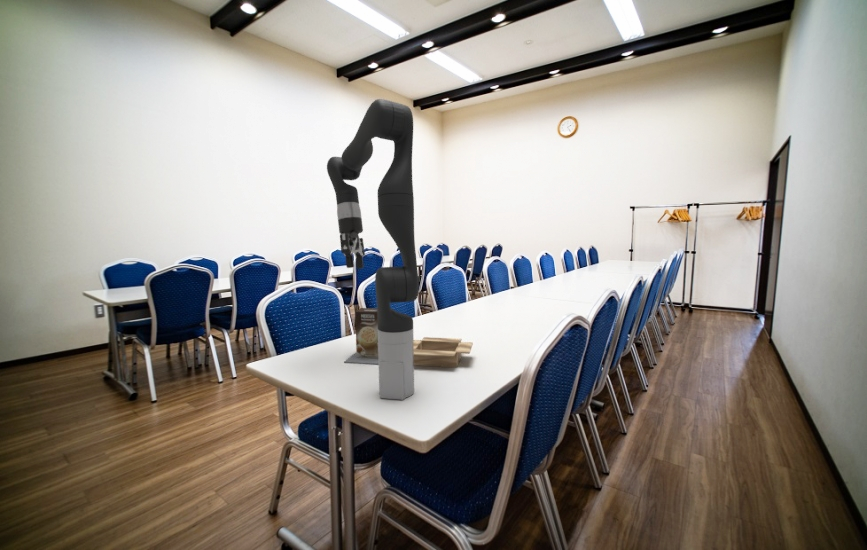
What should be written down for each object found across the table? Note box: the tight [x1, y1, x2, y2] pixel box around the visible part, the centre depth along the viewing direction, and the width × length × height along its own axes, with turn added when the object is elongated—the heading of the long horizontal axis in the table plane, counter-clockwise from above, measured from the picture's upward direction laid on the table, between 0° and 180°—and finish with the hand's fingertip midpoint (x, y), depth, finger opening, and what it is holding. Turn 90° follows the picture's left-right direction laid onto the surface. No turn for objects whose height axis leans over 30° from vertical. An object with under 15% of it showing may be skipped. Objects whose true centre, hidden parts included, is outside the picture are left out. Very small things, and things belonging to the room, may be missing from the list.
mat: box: [343, 352, 379, 366], centre depth 127 cm, size 15×14×1 cm
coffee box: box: [355, 307, 378, 358], centre depth 127 cm, size 9×6×16 cm
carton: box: [413, 336, 474, 368], centre depth 123 cm, size 19×22×5 cm
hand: (355, 268), depth 119 cm, fingers open, 8 cm apart
